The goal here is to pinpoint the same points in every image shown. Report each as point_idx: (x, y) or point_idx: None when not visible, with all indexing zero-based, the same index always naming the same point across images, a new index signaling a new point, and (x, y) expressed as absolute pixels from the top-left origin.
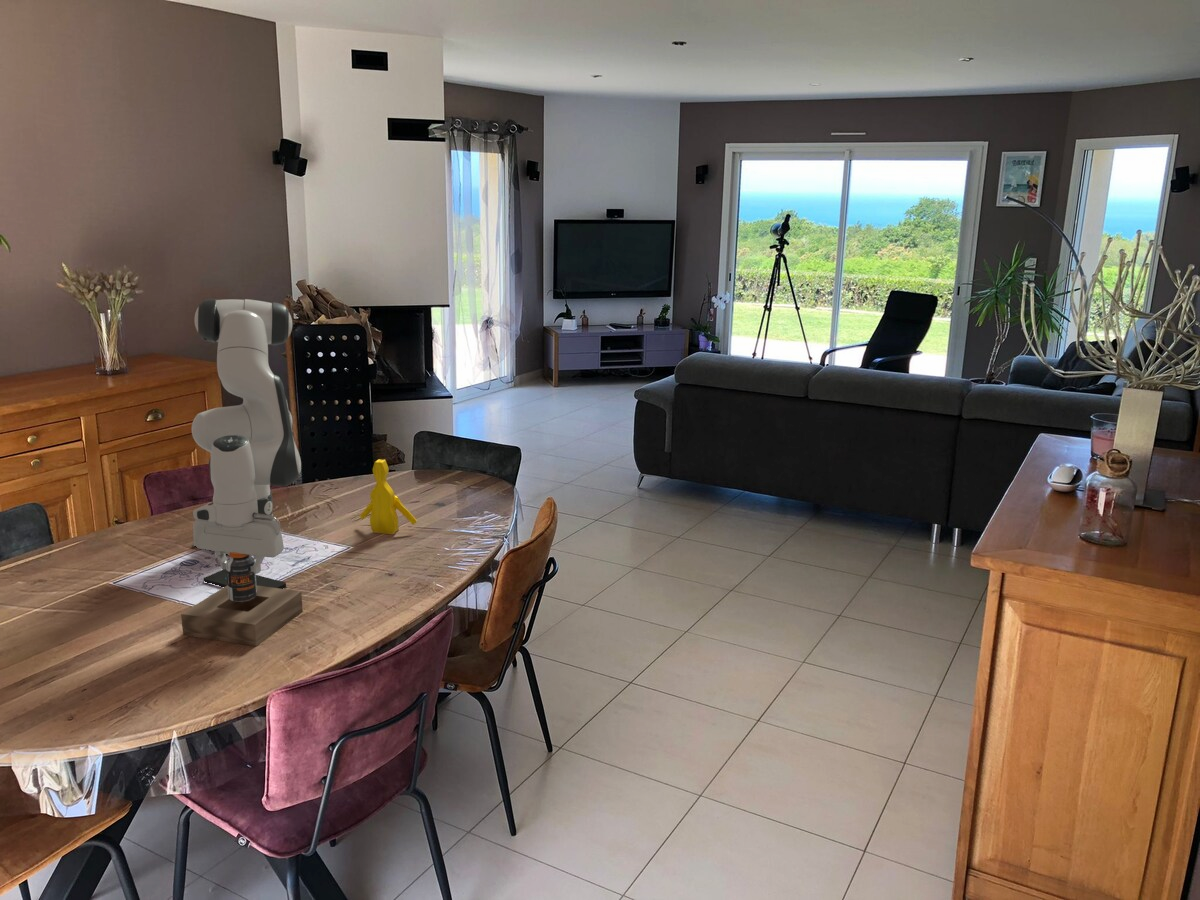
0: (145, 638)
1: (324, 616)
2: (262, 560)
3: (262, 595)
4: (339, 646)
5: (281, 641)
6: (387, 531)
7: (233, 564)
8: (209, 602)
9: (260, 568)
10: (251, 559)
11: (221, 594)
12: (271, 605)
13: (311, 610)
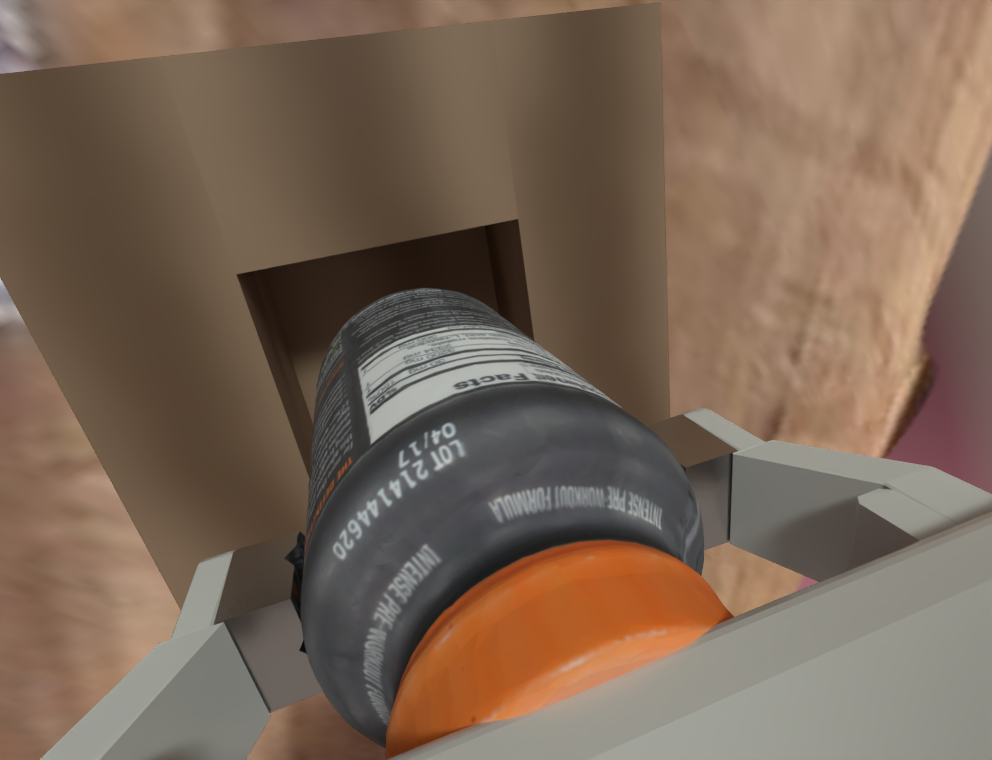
0: (111, 689)
1: (720, 53)
2: (844, 461)
3: (448, 215)
4: (884, 292)
5: (675, 378)
6: None
7: None
8: (207, 498)
9: (718, 420)
10: (696, 531)
11: (136, 362)
12: (613, 314)
13: (617, 4)
